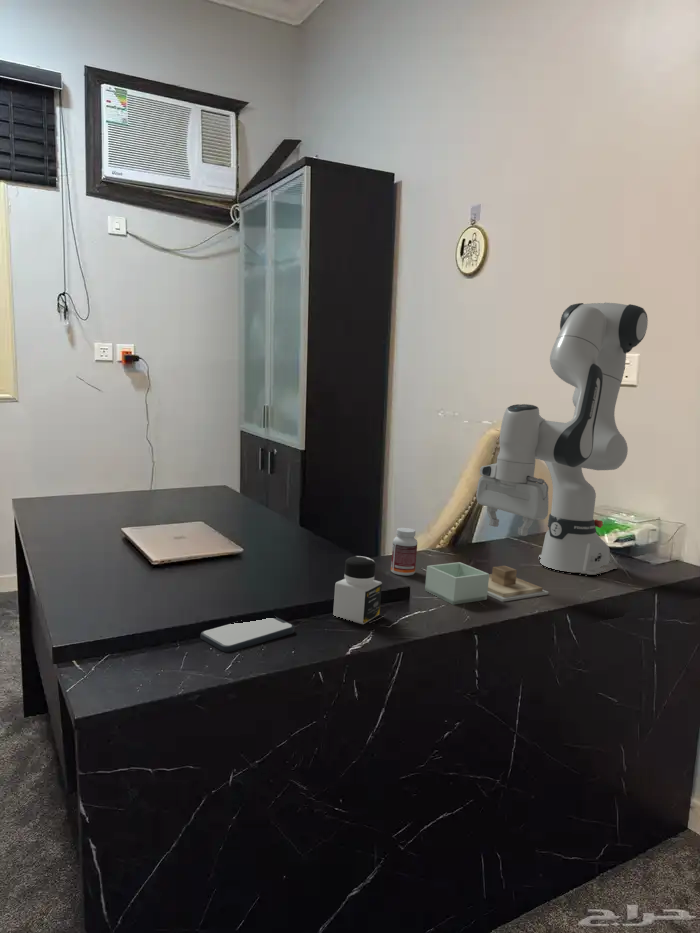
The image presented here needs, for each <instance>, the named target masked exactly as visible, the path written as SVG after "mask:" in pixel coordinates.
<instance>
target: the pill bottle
mask: <svg viewBox="0 0 700 933" xmlns="http://www.w3.org/2000/svg"><path fill="white" fill-rule="evenodd" d="M395 535H396V536H395V537H393V540H392V549H391V562H390V564H391V565H390V571H391V572H392V573H393V574H395V575H398V576H413V575H414V574H415V573H416V565H417V564H416V563H417V554H418V553H417V552H418V541H417V539H416V530H415V529H414V528H409V527H398V528H397V529H396V534H395Z"/></svg>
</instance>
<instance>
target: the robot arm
mask: <svg viewBox="0 0 700 933" xmlns="http://www.w3.org/2000/svg"><path fill="white" fill-rule="evenodd" d="M648 322H649V320H648V314H647V312H646V310H645V309H644V307H642V306H639V305H635V304H622V303H615V302H602V303H601V302H597V303H596V302H594V303H584V302H583V303H582V302H581V303H580V302H579V303H573V304H570V305H569V306H568V307H567V308H565V309H564V311H563V313H562V314H561V317H560V323H559V330H560V331H559V333H558V335H557V337H556V339H555V342H554V344H553V346H552V349H551V352H550V356H549V363H550V367H551V369H552V370H553V372H554V374H555V375H556V376H557V377H558V378H559V379H560V380H561V381H563V382H565V383H566V384H568V385H570V386H572V387H574V388H575V389H574V390H573V395H572V403H573V406H574V412H573V416H572V419H571V420H569V421H566V422H558V421H551V420H546V419H545V418H543V417H542V415H540V409H539V407H538V406H537V405H534V404H529V403H528V404H527V403H526V404H525V403H523V404H521V403H520V404H513V405H510V406H508V407H507V408H506V409H505V410H504V411H505V412H504V413H503V416H502V421H501V426H500V432H499V440H498V441H499V442H498V443H499V452H498V454H497V457H496V462H495V463H492V464H488V465H482V466H481V467H480V468H479V475H481V476H480V477H479V479H478V482H477V487H476V488H477V489H476V495H475V496H476V498H475V499H476V501H477V503H478V504H479V505H481V506H485V507H487V508H486V511H487V514H488V518H489V520H488V521H489V522H488V523H489V525H488V526H490V527H492V528H493V527H494V528H495V527H498V526H499V523H500V519H498V518H497V517H498V516H497V512H498V510H499V511H502V512H507V513H510V514H513V515H517V516H519V517H520V516H521V517H522V522H523V523H522V525H521V526H518V527H517V535H519V536H522V537H525V536H528V534H529V529H530V528H531V526H532V525H533V523H534V520H535V521H536V520H538V521H540V520H545V519H546V518H547V517H548V519H547V527H548V530H547V531H546V532H545V535H544V541H543V546H542V549H541V553H540V554H539V555H538V558H539V557H540V558H541V559H540V560H539V561H540V563H541V564H542V565H544V566H546V567H548V568H552V569H555V570H560V571H567V572H581V573H587V574H596V573H599V572H601V571H604V570H606V569H605V568H604V569H603V568H600V567H601V566H603V565H606V564H608V563H609V561H610V556H611V554H610V553H611V552H610V551H611V550H610V547H609V545H608V544H607V543H606V542H605V541H604V540H603V539H602V538H601V537H600V535H598V534H597V528H600V529H601V528H602V527H603V526H604V522H603V520H599V519H594V516H595V515H594V514H595V505H596V497H597V493H596V490H595V487H593V486H592V484H590V483H589V482H588V481H587V480H586V478H585V477H584V474H583V469H589V470H592V471H614V470H618V469H619V468H620V467H621V466H622V465H623V464H624V463H625V461H626V459H627V457H628V456H627V455H628V450H629V449H628V443H627V441H626V438H625V437H624V435H623V434H622V433H621V432H620V431H619V429H618V427H617V424H616V418H615V417H616V416H615V409H616V404H617V401H618V396H619V392H620V388H621V387H622V386H621V385H622V382H623V378H624V374H625V370H626V369H625V368H626V362H627V361H626V360H627V353H630V352H631V351H632V349H633V348H635V347H637V346H638V345H639V344H640V343H641V342H642V341H643V340H644V339H645V336H646V334H647V330H648V326H649V325H648V324H649V323H648ZM536 460H540V461H542V462H543V461H544V462H545V464H546V466H547V469H548V471H549V473H550V476H551V477H550V479H551V484H552V496H551V497H552V500H551V510H550V511H551V512H550V514H549V485H548V483H547V482H546V481H545V480H544V479H542V478H536V477H535V468H536ZM548 514H549V515H548ZM542 565H541V566H542ZM546 567H545V568H546ZM548 568H547V569H548ZM555 570H554V571H555Z"/></svg>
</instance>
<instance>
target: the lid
mask: <svg viewBox="0 0 700 933" xmlns="http://www.w3.org/2000/svg"><path fill="white" fill-rule="evenodd" d="M517 573H518V570H517V569H515V568H513V567H510V566H506V565H499V566H492V572H491V573H490V574H489V573H488V574H489V582H488V591H490V592H492V593H494V594H496V595H499V596H501V597H508V596H514V595H521V594H527V593H533V592H540V591H542V590H544V589H543V587H542V586H539V585H536V584H534V583H531V582H528V581H526V580H524V579H522V578H518V577H517Z"/></svg>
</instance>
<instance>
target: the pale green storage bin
mask: <svg viewBox="0 0 700 933" xmlns="http://www.w3.org/2000/svg"><path fill="white" fill-rule="evenodd" d="M488 582H489V573H488V572H486V571H483V570H480V569H479V568H478V569H477V568H475V567H473V566H471V565H468V564H465V563H463V562H460V561H458V562H448V563H441V564H431V565H427V566H426V574H425V582H424V583H425V584H424V585H425V586H424V592H426V591H427V593H428V592H429V593H428V594H430V593H431V594H430V595H432V594H433V595H432V596H434V595H435V596H434V597H436V596H437V598H438V599H440V600H443V601H444V602H447V603H448V604H451V605H453V606H455V605H460V604H468V603H472V602H473V603H474V602H479V601H480V602H481V601H485V600H487V599H488V595H487V592H488Z"/></svg>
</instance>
